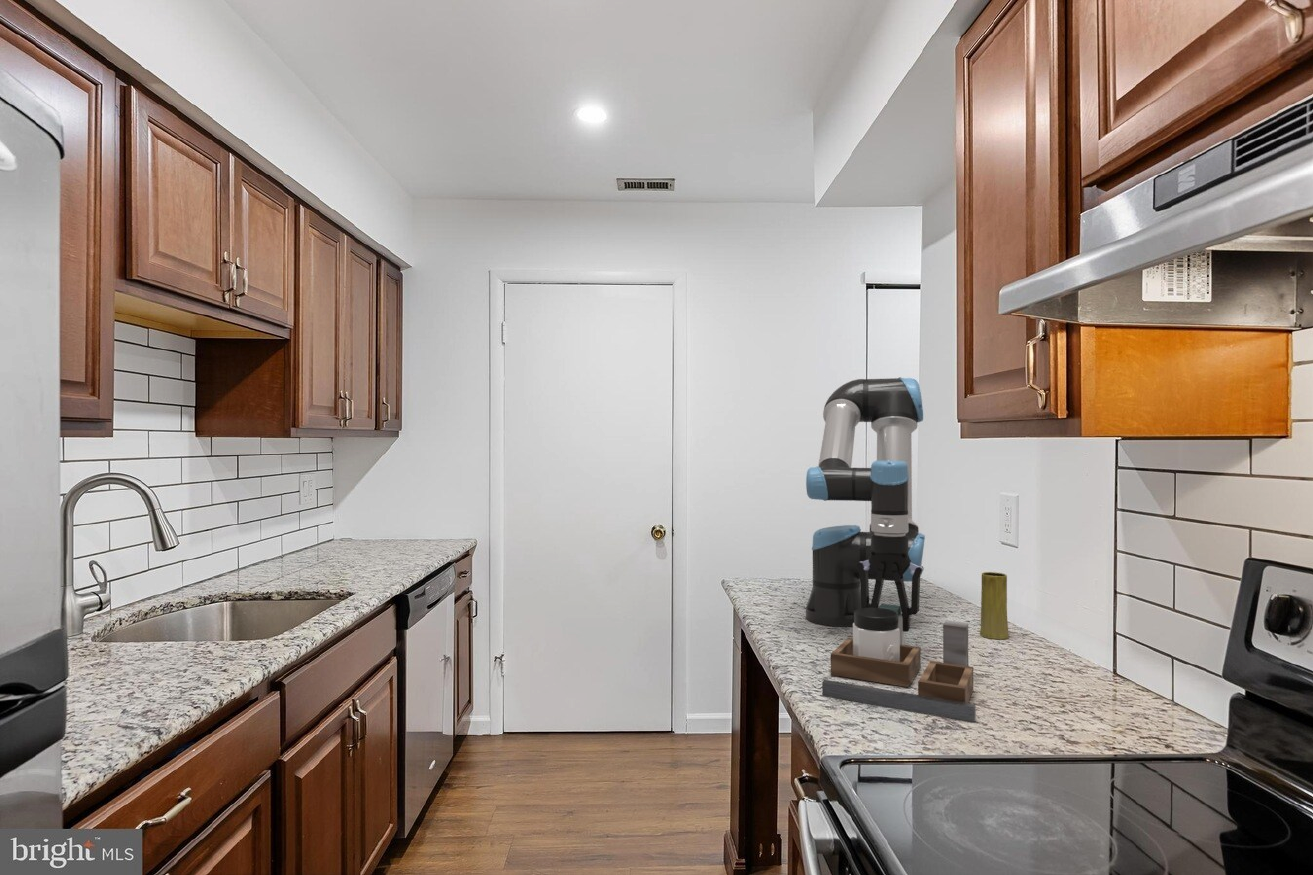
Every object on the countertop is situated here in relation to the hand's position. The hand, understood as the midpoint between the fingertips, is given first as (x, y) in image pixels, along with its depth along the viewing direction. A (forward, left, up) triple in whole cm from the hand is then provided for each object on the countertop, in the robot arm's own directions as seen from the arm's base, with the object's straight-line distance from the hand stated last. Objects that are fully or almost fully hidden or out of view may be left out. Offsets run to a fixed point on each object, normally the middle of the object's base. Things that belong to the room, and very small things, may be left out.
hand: (889, 644), depth 154 cm
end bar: (+30, +7, -2) cm, 31 cm away
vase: (-26, +18, -2) cm, 32 cm away
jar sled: (+9, 0, -2) cm, 9 cm away
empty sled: (+17, +14, -2) cm, 22 cm away
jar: (+14, 0, -2) cm, 14 cm away
